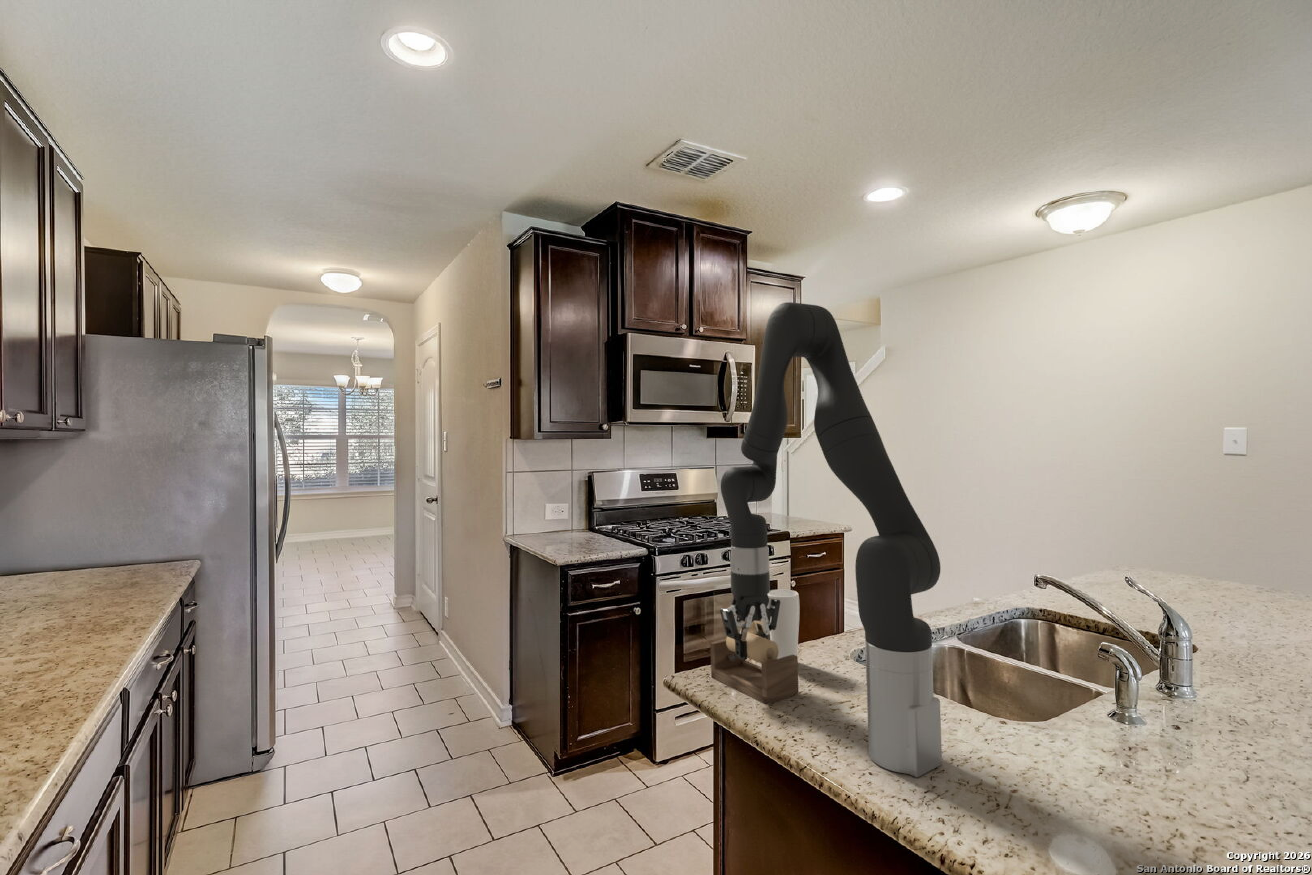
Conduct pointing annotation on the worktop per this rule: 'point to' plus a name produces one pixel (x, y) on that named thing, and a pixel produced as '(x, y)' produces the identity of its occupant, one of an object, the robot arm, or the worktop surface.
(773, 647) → the roll
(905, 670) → the robot arm
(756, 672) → the holder
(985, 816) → the worktop surface
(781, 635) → the drinking glass
